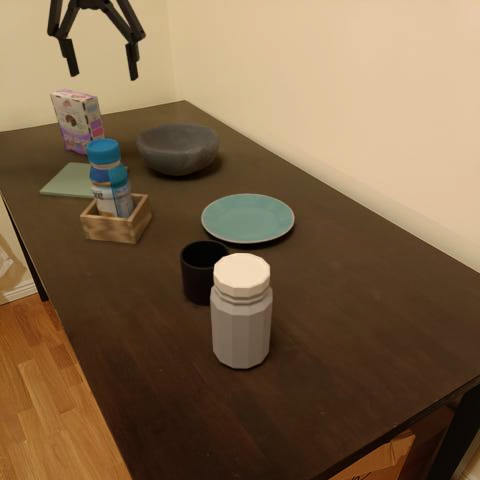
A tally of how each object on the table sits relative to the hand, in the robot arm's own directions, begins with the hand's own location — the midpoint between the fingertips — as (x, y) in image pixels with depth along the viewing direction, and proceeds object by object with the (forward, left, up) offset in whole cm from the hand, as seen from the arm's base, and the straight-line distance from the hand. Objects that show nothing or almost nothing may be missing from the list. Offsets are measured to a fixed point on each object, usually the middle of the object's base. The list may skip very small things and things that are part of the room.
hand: (104, 77), depth 92 cm
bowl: (+9, +20, -29) cm, 36 cm away
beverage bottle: (+3, -13, -29) cm, 32 cm away
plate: (+33, -7, -29) cm, 44 cm away
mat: (-15, +8, -29) cm, 34 cm away
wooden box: (+3, -13, -29) cm, 32 cm away
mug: (+28, -31, -29) cm, 51 cm away
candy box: (-23, +27, -29) cm, 46 cm away
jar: (+38, -47, -29) cm, 67 cm away
